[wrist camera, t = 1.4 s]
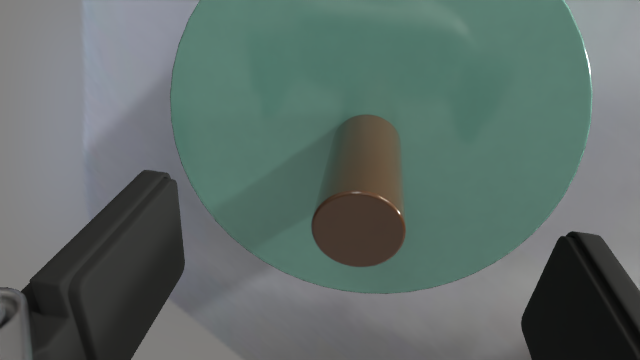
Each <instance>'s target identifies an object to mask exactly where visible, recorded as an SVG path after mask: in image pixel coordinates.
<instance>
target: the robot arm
mask: <svg viewBox="0 0 640 360" xmlns="http://www.w3.org/2000/svg"><path fill="white" fill-rule="evenodd" d="M184 265H185V259H184V249H183V239H182V229H181V219H180V209H179V200H178V190H177V183H176V181H175V180H173V179H171V177H170V175H169V174H168V173H164V172H157V171H150V170H144V171H142V172H141V173H140V174H139V175H138V176H137V177H136V178H135V179H134V180H133V181H132V182H130V183H129V184H128V185H127V186H126V187H125V188H124V189H123V190H122V191H121V192H120V193H119V194H118V195H117V196H116V197H115V198H114V199H113V200H112V201H111V202H110V203H109V204H108V205H107V206H106V207H105V208H104V209H103V210H102V211H101V212H99V213H98V214H97V215H96V216H95V217H94V218H93V219H92V220H91V221H90V222H89V223H88V224H87V225H86V226H85V227H84V228H83V229H82V230H81V231H80V232H79V233H78V234H77V235H76V236H75V237H74V238H73V239H72V240H71V241H70V242H69V243H68V244H66V245H65V246H64V248H62V249H61V250H60V251H59V252H58V253H57V254H56V255H55V256H54V257H53V258H52V259H51V260H50V261H49V262H48V263H47V264H46V265H45V266H44V267H43V268H42V269H41V270H40V271H39V272H38V273H37V274H36V275H34V276H33V277H32V278H31V279H30V283H29V284H28V285H27V286H26V287H25V288H24V289H23V290H22V291H21V292H20V291H19V290H16V289H12V288H8V287H6V288H3V287H0V360H131V358H132V357H133V355H134V353H135V352H136V350H137V348H138V346H139V345H140V343H141V342H142V340H143V338H144V337H145V335H146V333H147V331H148V330H149V328H150V327H151V325H152V323H153V322H154V320H155V319H156V317H157V315H158V313H159V312H160V310H161V309H162V307H163V305H164V304H165V302H166V300H167V299H168V297H169V295H170V294H171V292H172V290H173V289H174V287H175V285H176V284H177V282H178V280H179V279H180V277H181V275H182V273H183V270H184ZM521 326H522V332H523V335H524V337H525V340H526V343H527V346H528V349H529V352H530V355H531V358H532V360H640V291H639V290H638V288H637V287H636V285H635V284H634V282H633V281H632V280H631V278H630V277H629V275H628V274H627V273H626V271H625V270H624V268H623V267H622V266H621V264H620V263H619V261H618V260H617V259H616V257H615V256H614V254H613V253H612V251H611V250H610V249H609V247H608V246H607V244H606V243H605V242H604V240H603V239H602V238H601V237H600V236H598V235H594V234H587V233H580V232H569V233H568V234H567V235H566V237H565V236H562V237H560V238H559V239H558V241H557V243H556V245H555V247H554V249H553V251H552V253H551V255H550V258H549V260H548V262H547V264H546V266H545V268H544V270H543V273H542V275H541V277H540V279H539V281H538V283H537V286H536V288H535V290H534V292H533V294H532V296H531V298H530V301H529V303H528V305H527V307H526V309H525V311H524V313H523V316H522V321H521Z"/></svg>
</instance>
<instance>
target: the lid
mask: <svg viewBox="0 0 640 360" xmlns="http://www.w3.org/2000/svg"><path fill="white" fill-rule="evenodd" d="M170 102H171V121H172V127H173V132H174V138H175V143H176V146H177V150H178V153H179V156H180V159H181V163H182V165H183V168H184V170H185V172H186V174H187V176H188V179H189V181H190V183H191V185H192V187H193V188H194V190H195V192H196V193H197V195H198V197H199V198H200V200H201V202H202V203H203V205H204V206H205V207H206V209H207V210H208V211H209V213H210V214H211V215H212V216H213V218H214V219H215V220H216V221H217V223H218V224H219V225H220V226H221V227H222V228H223V229H224V230H225V231H226V232H227V233H228V234H229V235H230V236H231V237H232V238H233V239H235V240H236V241H237V242H238V243H239V244H241V245H242V246H243V247H244V248H245V249H246V250H248V251H249V252H251V253H252V254H254V255H255V256H257V257H258V258H260V259H261V260H263V261H264V262H266V263H268V264H269V265H271V266H273V267H275V268H277V269H279V270H281V271H282V272H285V273H287V274H289V275H292V276H294V277H296V278H299V279H301V280H304V281H307V282H310V283H313V284H317V285H320V286H323V287H328V288H333V289H337V290H342V291H350V292H359V293H380V294H388V293H401V292H411V291H417V290H422V289H428V288H433V287H436V286H440V285H443V284H447V283H450V282H453V281H456V280H459V279H461V278H464V277H466V276H469V275H471V274H474V273H476V272H478V271H480V270H481V269H483V268H485V267H487V266H489V265H491V264H493V263H495V262H496V261H498V260H499V259H501V258H502V257H504V256H505V255H507V254H508V253H510V252H511V251H513V250H514V249H515V248H517V247H518V246H519V245H520V244H521V243H522V242H524V241H525V240H526V239H527V238H528V237H530V236H531V235H532V234H533V233H534V232H535V231H536V230H537V229H538V228H539V226H540V225H541V224H542V223H543V222H544V221H545V220H546V219H547V218H548V217H549V216H550V214H551V213H552V211H553V210H554V209H555V207H556V206H557V205H558V203H559V202H560V200H561V199H562V198H563V196H564V194H565V193H566V191H567V189H568V187H569V185H570V183H571V182H572V180H573V178H574V176H575V174H576V172H577V169H578V166H579V164H580V161H581V158H582V156H583V153H584V150H585V147H586V142H587V137H588V133H589V128H590V124H591V111H592V83H591V73H590V64H589V61H588V57H587V53H586V49H585V45H584V42H583V38H582V35H581V33H580V31H579V28H578V26H577V24H576V22H575V19H574V17H573V15H572V13H571V11H570V8H569V7H568V5H567V4H566V2H565V1H564V0H200V1H199V2H198V4H197V6H196V8H195V9H194V11H193V13H192V14H191V16H190V18H189V20H188V22H187V25H186V27H185V30H184V32H183V35H182V37H181V40H180V42H179V45H178V50H177V54H176V58H175V62H174V66H173V72H172V82H171V92H170Z"/></svg>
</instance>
